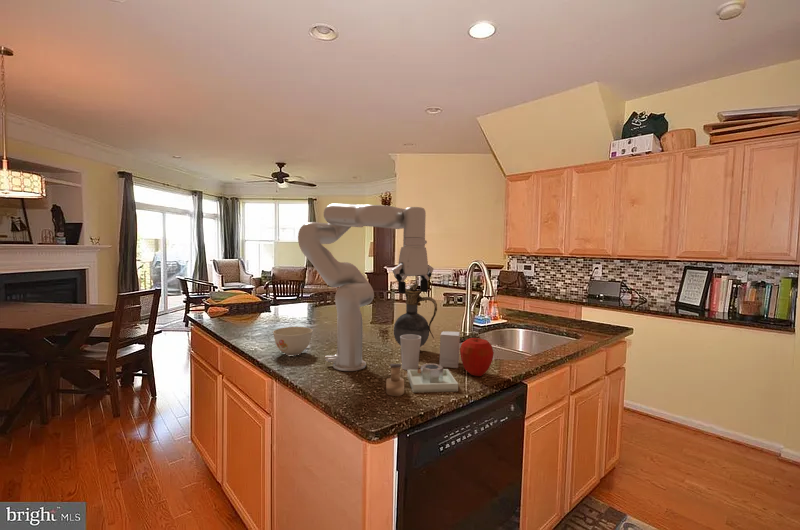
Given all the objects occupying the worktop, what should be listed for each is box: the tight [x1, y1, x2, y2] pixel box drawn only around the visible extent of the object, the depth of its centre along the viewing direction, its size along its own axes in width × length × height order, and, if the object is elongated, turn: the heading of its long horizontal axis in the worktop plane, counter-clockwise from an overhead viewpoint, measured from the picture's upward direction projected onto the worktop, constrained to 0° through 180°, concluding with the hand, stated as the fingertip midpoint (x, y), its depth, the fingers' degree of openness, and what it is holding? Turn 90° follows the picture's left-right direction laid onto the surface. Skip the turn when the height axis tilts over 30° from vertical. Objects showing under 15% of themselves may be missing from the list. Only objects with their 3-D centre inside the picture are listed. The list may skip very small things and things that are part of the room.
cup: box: [400, 334, 421, 371], centre depth 145 cm, size 8×8×12 cm
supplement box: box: [439, 330, 461, 369], centre depth 150 cm, size 7×7×13 cm
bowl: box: [272, 326, 314, 356], centre depth 160 cm, size 16×16×10 cm
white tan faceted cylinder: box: [385, 363, 405, 397], centre depth 120 cm, size 6×6×9 cm
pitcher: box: [393, 283, 438, 348], centre depth 167 cm, size 11×19×30 cm, turn 73°
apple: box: [459, 336, 495, 377], centre depth 138 cm, size 12×12×14 cm
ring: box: [417, 363, 444, 384], centre depth 129 cm, size 9×7×5 cm
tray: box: [406, 368, 459, 393], centre depth 129 cm, size 15×15×2 cm
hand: (413, 292), depth 133 cm, fingers open, 9 cm apart
